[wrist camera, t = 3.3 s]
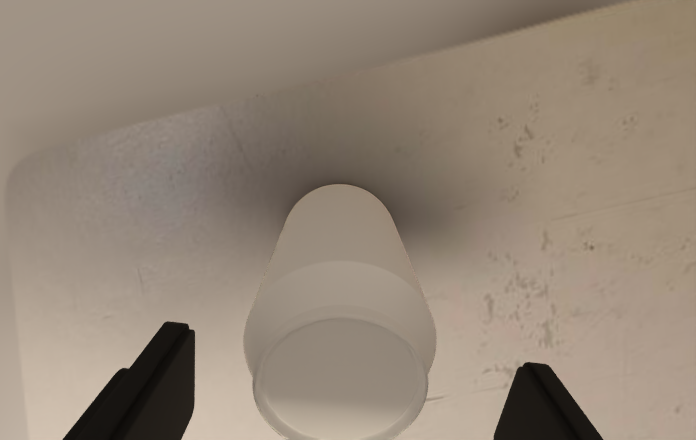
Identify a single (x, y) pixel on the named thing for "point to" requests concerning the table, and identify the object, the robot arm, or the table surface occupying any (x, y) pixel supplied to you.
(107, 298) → the table surface
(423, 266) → the table surface
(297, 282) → the beverage can
